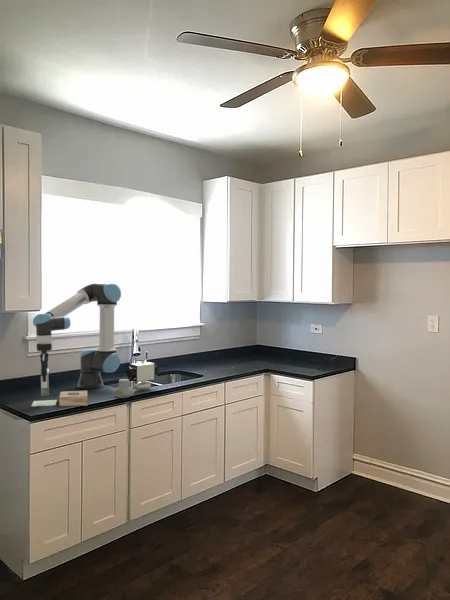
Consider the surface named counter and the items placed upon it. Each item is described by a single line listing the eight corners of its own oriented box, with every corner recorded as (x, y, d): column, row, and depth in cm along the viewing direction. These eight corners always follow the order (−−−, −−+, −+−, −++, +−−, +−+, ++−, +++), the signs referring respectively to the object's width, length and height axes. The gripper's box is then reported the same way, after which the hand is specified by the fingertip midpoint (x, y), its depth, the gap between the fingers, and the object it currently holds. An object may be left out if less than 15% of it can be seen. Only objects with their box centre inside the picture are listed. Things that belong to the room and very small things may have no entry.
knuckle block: (60, 400, 273) (60, 391, 273) (87, 399, 277) (87, 390, 277) (59, 407, 260) (59, 397, 259) (87, 405, 263) (87, 396, 263)
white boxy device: (151, 386, 311) (151, 358, 310) (158, 389, 304) (158, 360, 303) (125, 390, 299) (125, 361, 299) (132, 393, 293) (132, 363, 292)
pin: (41, 394, 268) (40, 368, 267) (49, 394, 269) (48, 368, 268) (40, 396, 264) (40, 370, 263) (48, 395, 265) (48, 369, 264)
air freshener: (111, 397, 282) (111, 379, 282) (121, 394, 289) (121, 377, 289) (126, 399, 277) (126, 381, 276) (136, 397, 284) (136, 379, 283)
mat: (33, 401, 270) (33, 401, 270) (57, 400, 273) (57, 399, 273) (31, 407, 259) (31, 406, 259) (55, 406, 262) (55, 405, 262)
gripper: (38, 341, 272) (38, 383, 273) (35, 345, 256) (35, 390, 257) (52, 340, 274) (53, 382, 275) (50, 344, 258) (51, 389, 259)
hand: (44, 386), depth 266 cm, fingers closed on pin, 4 cm apart
